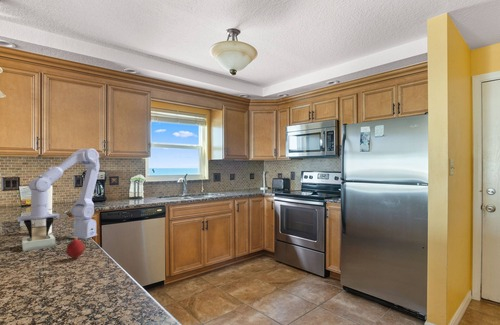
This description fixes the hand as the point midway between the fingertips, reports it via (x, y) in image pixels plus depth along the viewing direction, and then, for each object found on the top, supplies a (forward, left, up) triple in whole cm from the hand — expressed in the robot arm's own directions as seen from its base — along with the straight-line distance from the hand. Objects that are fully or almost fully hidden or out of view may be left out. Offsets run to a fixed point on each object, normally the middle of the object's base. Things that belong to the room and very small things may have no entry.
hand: (38, 236), depth 122 cm
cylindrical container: (+21, -21, -4) cm, 30 cm away
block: (0, 0, -2) cm, 2 cm away
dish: (0, 0, -4) cm, 4 cm away
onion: (-30, +11, -4) cm, 33 cm away
